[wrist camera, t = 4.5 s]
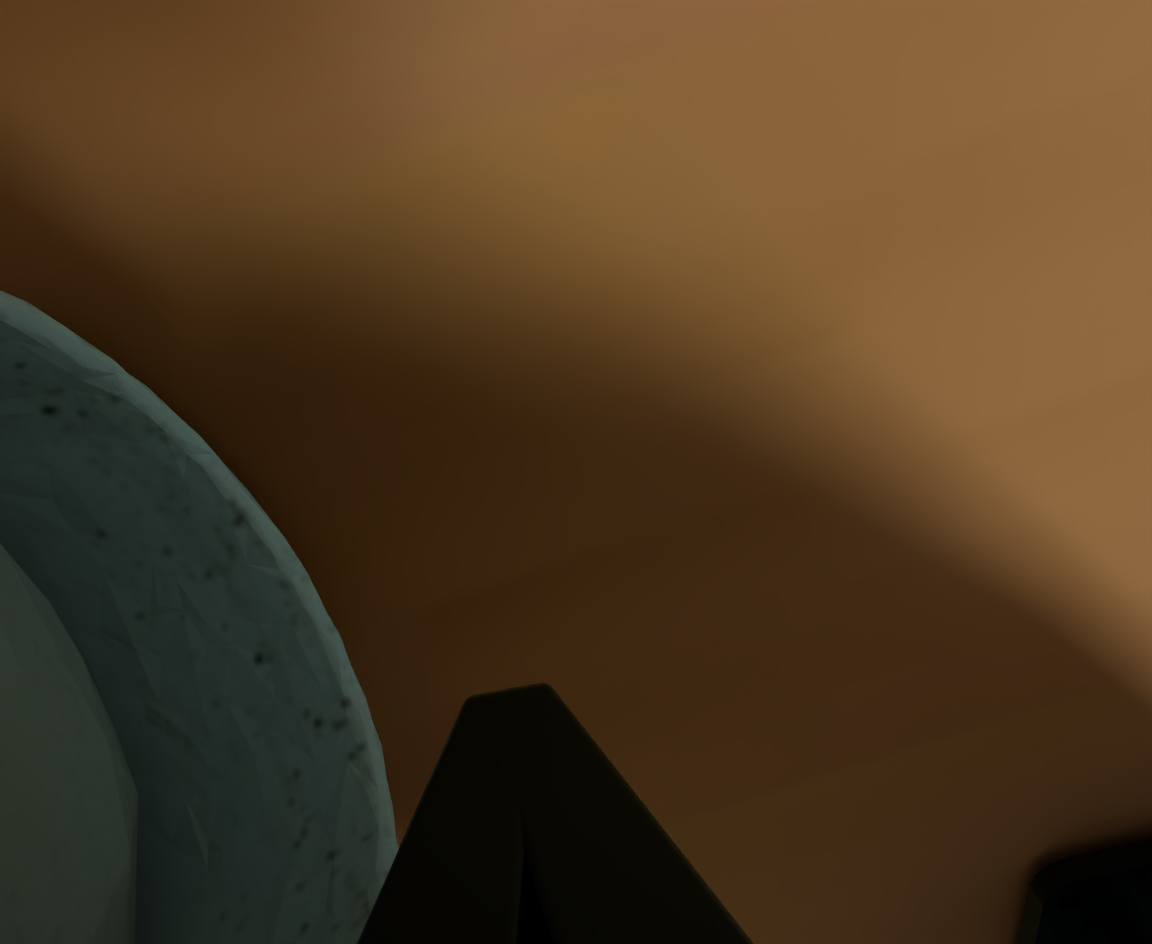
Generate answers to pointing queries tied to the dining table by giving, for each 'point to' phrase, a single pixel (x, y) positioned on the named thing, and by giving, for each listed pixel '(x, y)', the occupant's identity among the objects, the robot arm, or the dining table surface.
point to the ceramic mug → (164, 683)
